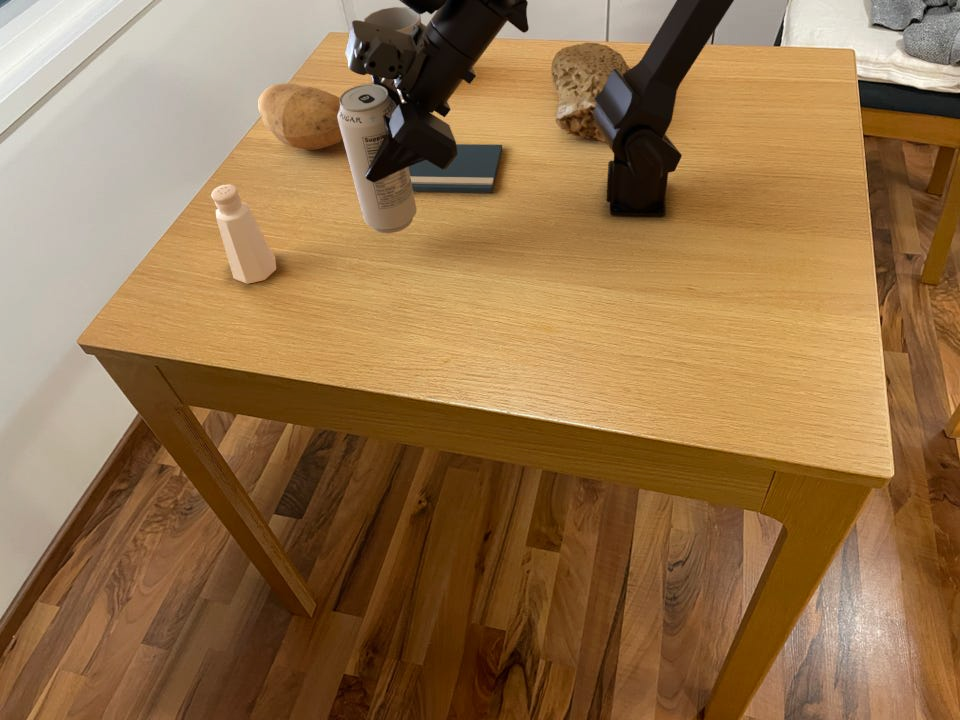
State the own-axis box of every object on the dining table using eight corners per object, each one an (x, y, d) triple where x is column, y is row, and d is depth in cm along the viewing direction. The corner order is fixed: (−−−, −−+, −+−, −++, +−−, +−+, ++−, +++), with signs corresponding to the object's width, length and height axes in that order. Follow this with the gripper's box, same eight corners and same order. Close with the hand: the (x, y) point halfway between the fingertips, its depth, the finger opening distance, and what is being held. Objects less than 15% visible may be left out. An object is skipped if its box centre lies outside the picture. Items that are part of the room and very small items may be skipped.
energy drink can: (398, 197, 87) (372, 74, 76) (428, 219, 84) (405, 94, 73) (355, 220, 85) (321, 97, 74) (384, 243, 81) (354, 119, 70)
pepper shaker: (224, 268, 88) (190, 190, 80) (265, 248, 90) (236, 170, 82) (243, 291, 85) (210, 212, 77) (286, 269, 87) (257, 190, 79)
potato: (333, 172, 100) (319, 118, 94) (254, 151, 106) (236, 98, 100) (374, 136, 106) (363, 83, 100) (298, 117, 111) (283, 66, 105)
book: (502, 149, 101) (502, 142, 100) (492, 193, 94) (491, 185, 93) (388, 148, 103) (386, 141, 103) (370, 190, 97) (368, 183, 96)
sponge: (631, 154, 100) (649, 55, 109) (621, 107, 93) (642, 7, 103) (537, 160, 105) (562, 66, 114) (522, 117, 98) (550, 21, 108)
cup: (427, 96, 112) (417, 29, 105) (373, 99, 113) (360, 34, 106) (430, 69, 118) (421, 4, 111) (379, 73, 119) (367, 9, 111)
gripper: (371, -46, 73) (291, 83, 80) (400, 32, 61) (303, 177, 68) (459, 19, 80) (378, 133, 87) (502, 102, 67) (403, 227, 74)
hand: (365, 163), depth 79 cm, fingers closed on energy drink can, 6 cm apart
